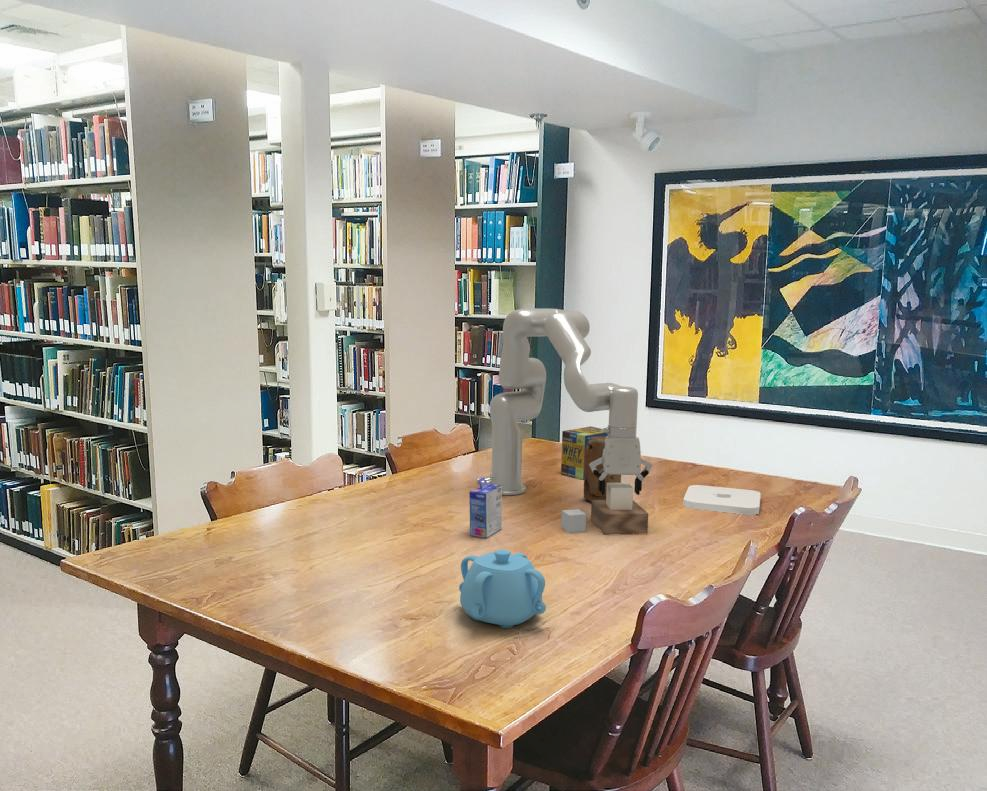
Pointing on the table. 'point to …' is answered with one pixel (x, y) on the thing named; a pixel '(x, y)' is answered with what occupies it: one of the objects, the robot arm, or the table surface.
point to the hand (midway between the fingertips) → (619, 493)
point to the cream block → (619, 496)
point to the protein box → (576, 449)
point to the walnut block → (619, 519)
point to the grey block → (573, 521)
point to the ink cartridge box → (485, 509)
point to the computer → (722, 499)
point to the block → (591, 481)
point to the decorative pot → (501, 588)
